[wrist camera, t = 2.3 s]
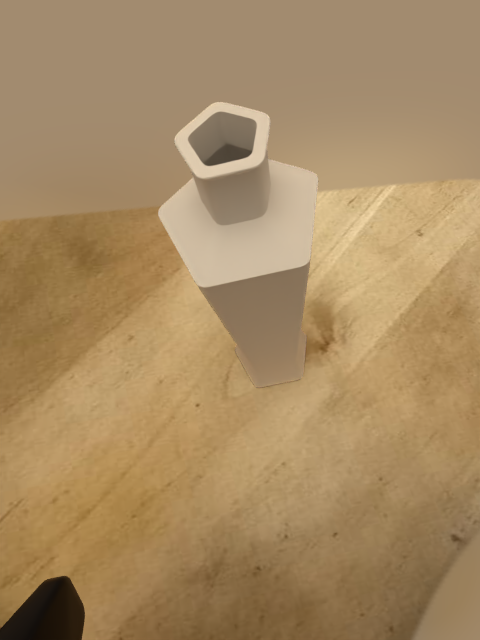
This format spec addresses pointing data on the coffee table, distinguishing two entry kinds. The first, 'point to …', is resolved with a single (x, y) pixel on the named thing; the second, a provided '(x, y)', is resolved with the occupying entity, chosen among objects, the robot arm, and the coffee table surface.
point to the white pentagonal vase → (246, 237)
